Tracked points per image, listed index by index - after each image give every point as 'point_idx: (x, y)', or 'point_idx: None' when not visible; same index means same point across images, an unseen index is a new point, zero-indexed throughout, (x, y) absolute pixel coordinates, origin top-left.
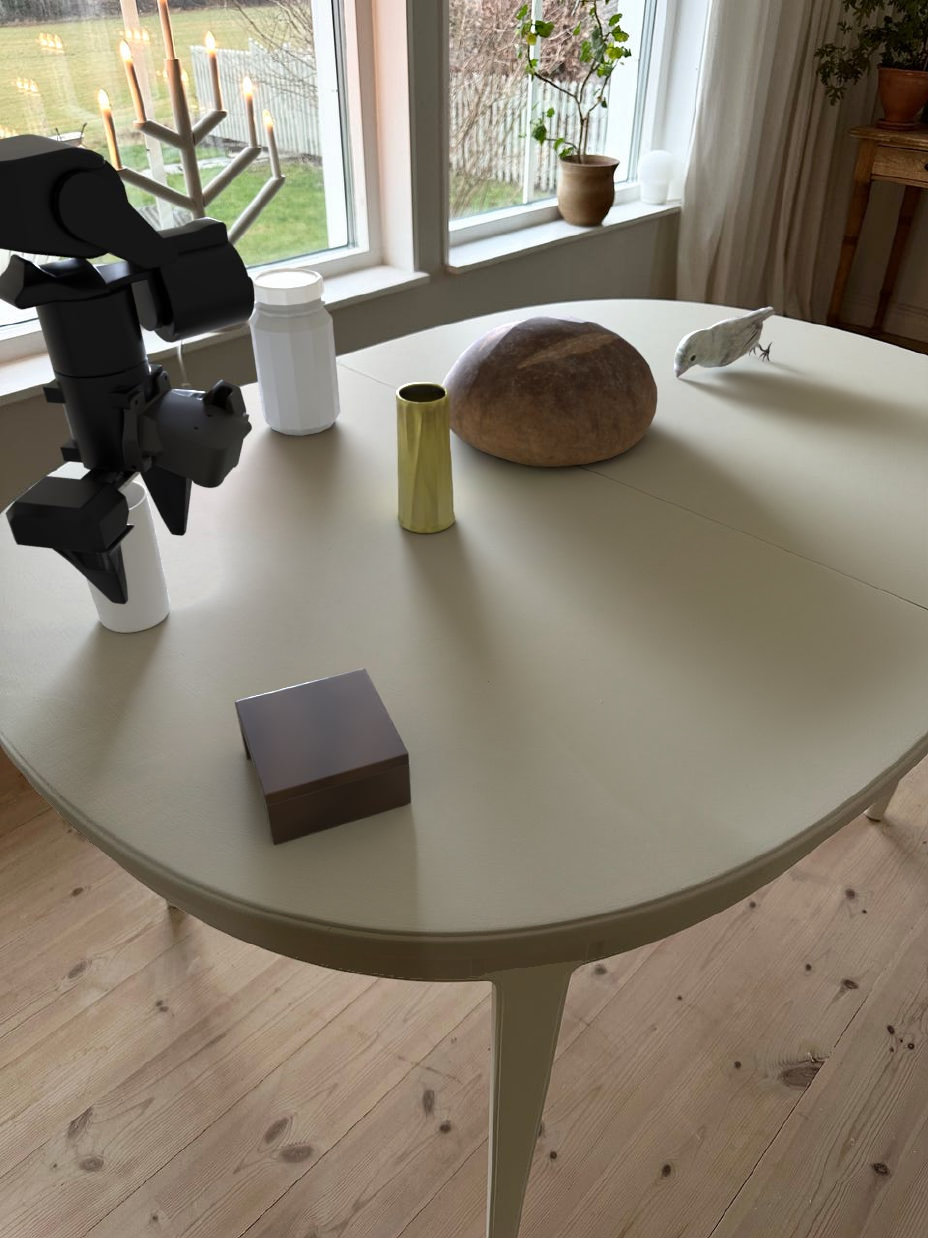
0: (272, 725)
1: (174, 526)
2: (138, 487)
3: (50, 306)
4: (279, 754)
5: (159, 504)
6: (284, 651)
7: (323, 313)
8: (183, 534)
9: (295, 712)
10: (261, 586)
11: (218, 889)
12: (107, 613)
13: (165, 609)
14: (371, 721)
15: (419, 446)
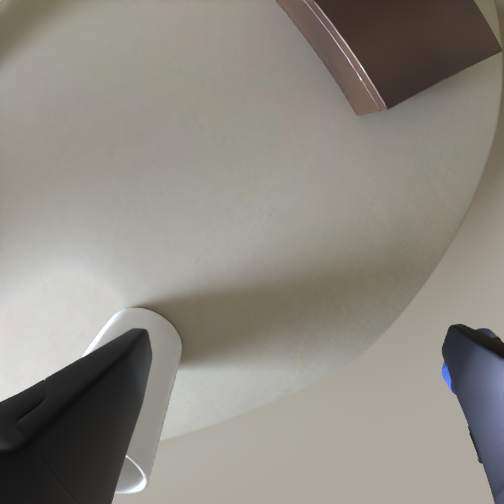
0: (420, 48)
1: (143, 362)
2: None
3: None
4: (457, 36)
5: (127, 432)
6: (161, 131)
7: None
8: (146, 329)
9: (390, 22)
10: (53, 220)
11: (500, 103)
12: (177, 366)
13: (134, 312)
14: None
15: None
